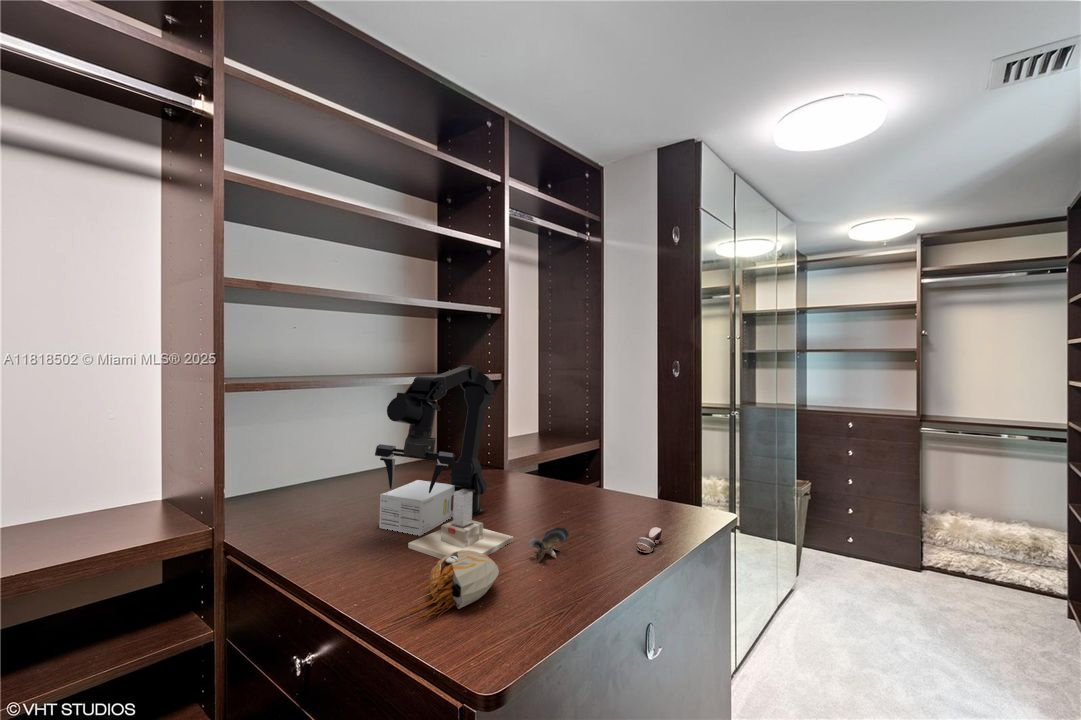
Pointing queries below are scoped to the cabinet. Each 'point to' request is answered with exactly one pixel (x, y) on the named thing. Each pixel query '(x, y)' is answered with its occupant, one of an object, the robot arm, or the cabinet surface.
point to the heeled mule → (650, 538)
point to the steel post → (462, 508)
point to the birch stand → (460, 540)
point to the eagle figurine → (549, 542)
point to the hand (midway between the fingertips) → (410, 490)
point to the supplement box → (416, 507)
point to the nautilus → (459, 580)
